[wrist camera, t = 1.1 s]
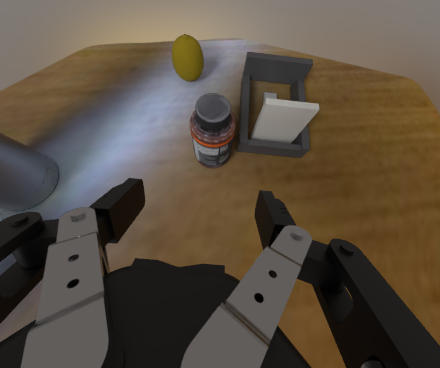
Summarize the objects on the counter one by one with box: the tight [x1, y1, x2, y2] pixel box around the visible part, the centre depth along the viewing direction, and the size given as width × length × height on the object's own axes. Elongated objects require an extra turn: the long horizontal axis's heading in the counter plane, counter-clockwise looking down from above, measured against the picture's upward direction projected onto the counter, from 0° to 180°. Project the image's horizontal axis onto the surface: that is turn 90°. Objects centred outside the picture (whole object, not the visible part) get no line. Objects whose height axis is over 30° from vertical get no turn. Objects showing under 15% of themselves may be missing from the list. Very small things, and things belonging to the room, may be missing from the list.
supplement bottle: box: [190, 93, 236, 168], centre depth 24 cm, size 6×6×11 cm
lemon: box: [172, 34, 204, 81], centre depth 31 cm, size 6×6×8 cm
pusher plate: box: [250, 92, 319, 144], centre depth 28 cm, size 7×11×9 cm, turn 175°
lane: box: [237, 52, 313, 158], centre depth 30 cm, size 11×16×6 cm
